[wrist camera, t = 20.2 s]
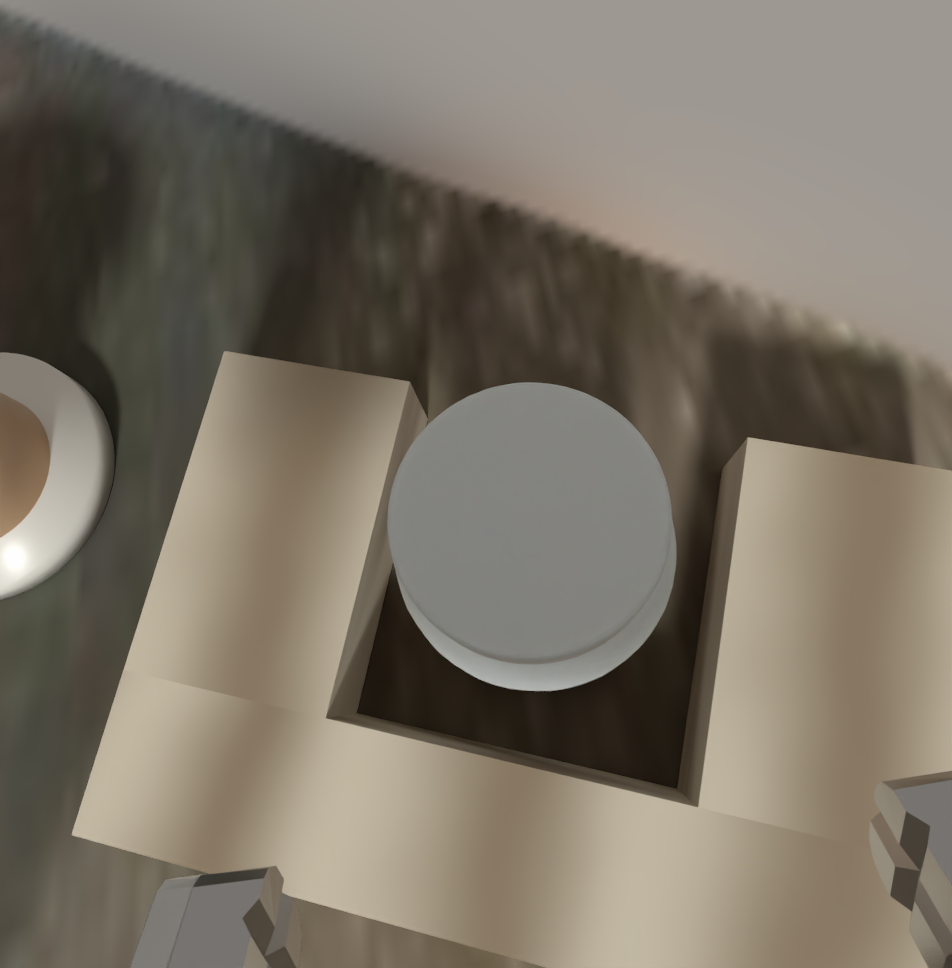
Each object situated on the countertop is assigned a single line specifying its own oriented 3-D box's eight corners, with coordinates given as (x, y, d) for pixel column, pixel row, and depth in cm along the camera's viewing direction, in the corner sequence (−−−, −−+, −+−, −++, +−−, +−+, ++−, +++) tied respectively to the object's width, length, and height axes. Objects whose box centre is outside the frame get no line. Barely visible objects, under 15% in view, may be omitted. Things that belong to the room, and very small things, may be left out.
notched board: (137, 813, 21) (71, 835, 18) (263, 390, 24) (224, 351, 21) (881, 1014, 18) (944, 1078, 15) (920, 503, 21) (979, 475, 18)
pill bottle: (615, 475, 22) (665, 320, 13) (657, 671, 21) (750, 663, 11) (429, 508, 22) (338, 380, 13) (456, 703, 21) (377, 722, 11)
